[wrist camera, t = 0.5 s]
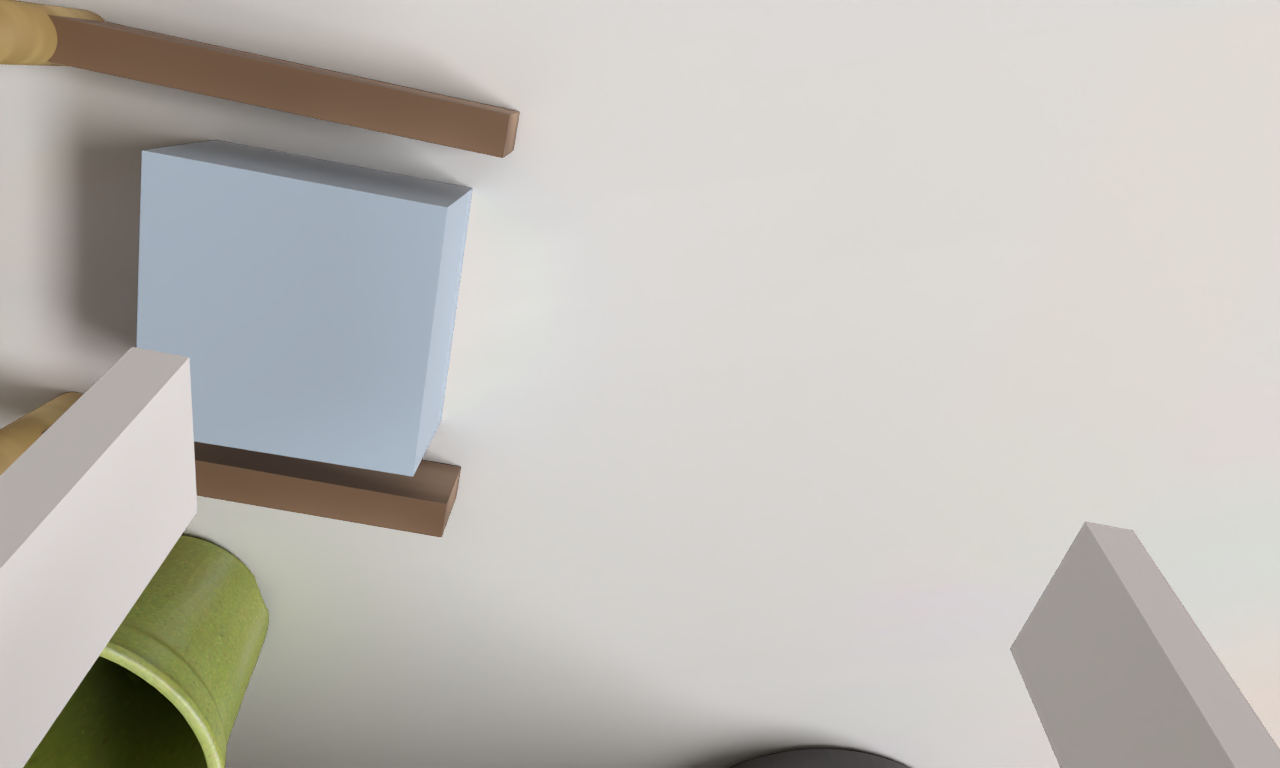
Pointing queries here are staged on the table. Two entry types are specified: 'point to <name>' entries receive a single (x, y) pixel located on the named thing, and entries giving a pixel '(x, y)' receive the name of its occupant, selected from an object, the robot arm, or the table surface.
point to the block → (302, 299)
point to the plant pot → (167, 671)
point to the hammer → (286, 86)
